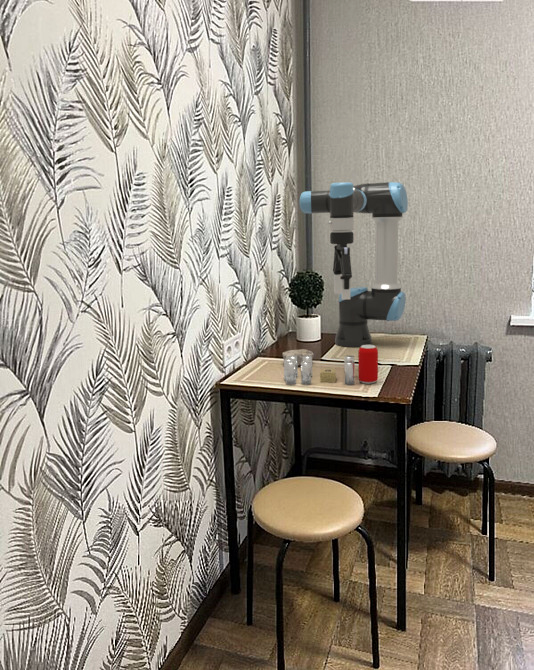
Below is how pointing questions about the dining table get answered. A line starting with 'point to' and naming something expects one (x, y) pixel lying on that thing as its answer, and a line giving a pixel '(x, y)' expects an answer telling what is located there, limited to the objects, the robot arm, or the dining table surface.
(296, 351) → the rock
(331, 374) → the nut
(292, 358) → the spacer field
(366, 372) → the beverage can
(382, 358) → the dining table surface
